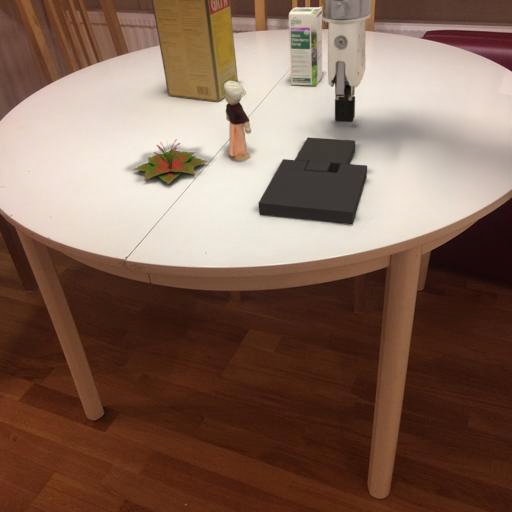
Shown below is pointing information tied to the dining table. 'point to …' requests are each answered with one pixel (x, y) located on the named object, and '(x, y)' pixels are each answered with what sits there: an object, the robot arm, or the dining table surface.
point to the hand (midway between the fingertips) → (344, 119)
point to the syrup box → (305, 45)
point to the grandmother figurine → (236, 121)
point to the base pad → (314, 193)
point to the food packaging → (196, 47)
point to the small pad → (326, 154)
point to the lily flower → (170, 164)
